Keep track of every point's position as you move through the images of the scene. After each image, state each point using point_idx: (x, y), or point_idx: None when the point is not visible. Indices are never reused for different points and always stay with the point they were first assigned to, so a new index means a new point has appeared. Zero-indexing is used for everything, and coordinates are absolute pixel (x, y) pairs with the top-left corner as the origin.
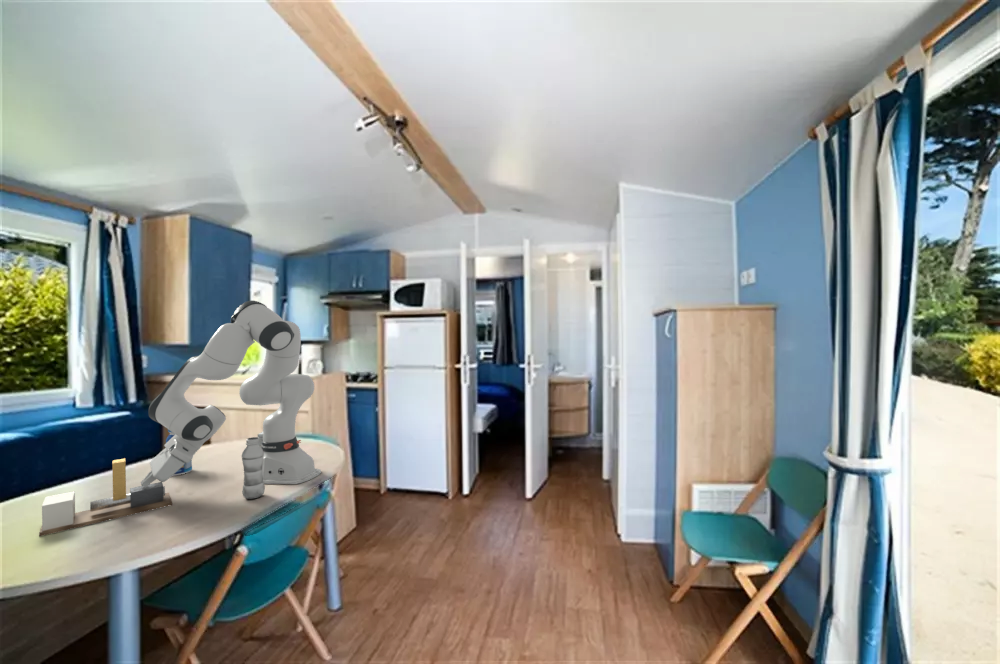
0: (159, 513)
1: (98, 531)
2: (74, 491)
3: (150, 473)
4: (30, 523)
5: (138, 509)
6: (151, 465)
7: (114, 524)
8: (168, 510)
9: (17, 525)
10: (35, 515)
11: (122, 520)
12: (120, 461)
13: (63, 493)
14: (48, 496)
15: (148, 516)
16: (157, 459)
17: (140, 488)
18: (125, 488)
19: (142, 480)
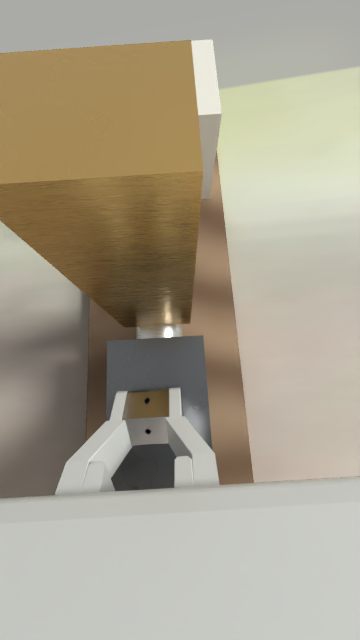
0: (22, 450)
1: (4, 276)
2: (213, 113)
3: (178, 463)
4: (238, 119)
5: (93, 377)
6: (272, 498)
7: (32, 312)
8: (31, 484)
9: (243, 98)
10: (311, 117)
11: (53, 332)
12: (17, 128)
13: (214, 83)
14: (207, 46)
15: (21, 411)
16: (330, 631)
17: (154, 385)
18: (111, 313)
19: (175, 398)
